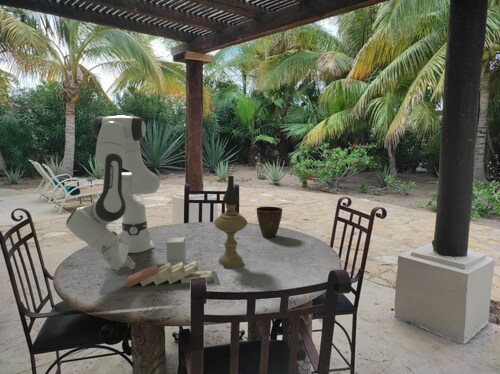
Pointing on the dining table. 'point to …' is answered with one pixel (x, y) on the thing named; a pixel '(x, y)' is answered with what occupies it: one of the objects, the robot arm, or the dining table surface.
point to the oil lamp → (230, 227)
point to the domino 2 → (161, 272)
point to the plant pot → (269, 220)
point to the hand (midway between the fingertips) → (133, 266)
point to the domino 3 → (176, 271)
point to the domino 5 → (197, 276)
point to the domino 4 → (189, 270)
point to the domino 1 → (142, 275)
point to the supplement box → (176, 251)
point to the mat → (121, 286)
